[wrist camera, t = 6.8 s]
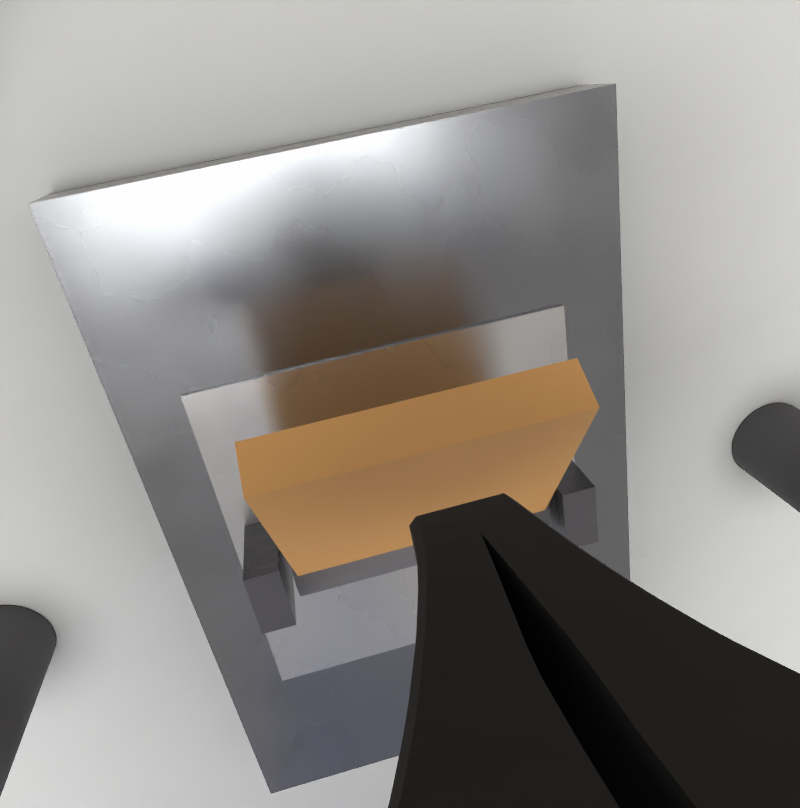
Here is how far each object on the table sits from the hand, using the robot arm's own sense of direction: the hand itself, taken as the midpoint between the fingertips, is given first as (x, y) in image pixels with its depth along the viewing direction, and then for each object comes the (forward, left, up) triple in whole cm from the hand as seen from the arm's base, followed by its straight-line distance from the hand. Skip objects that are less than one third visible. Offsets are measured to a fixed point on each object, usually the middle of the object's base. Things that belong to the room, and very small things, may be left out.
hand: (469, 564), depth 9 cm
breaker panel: (-4, 0, -9) cm, 10 cm away
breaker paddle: (-4, 0, -6) cm, 7 cm away
